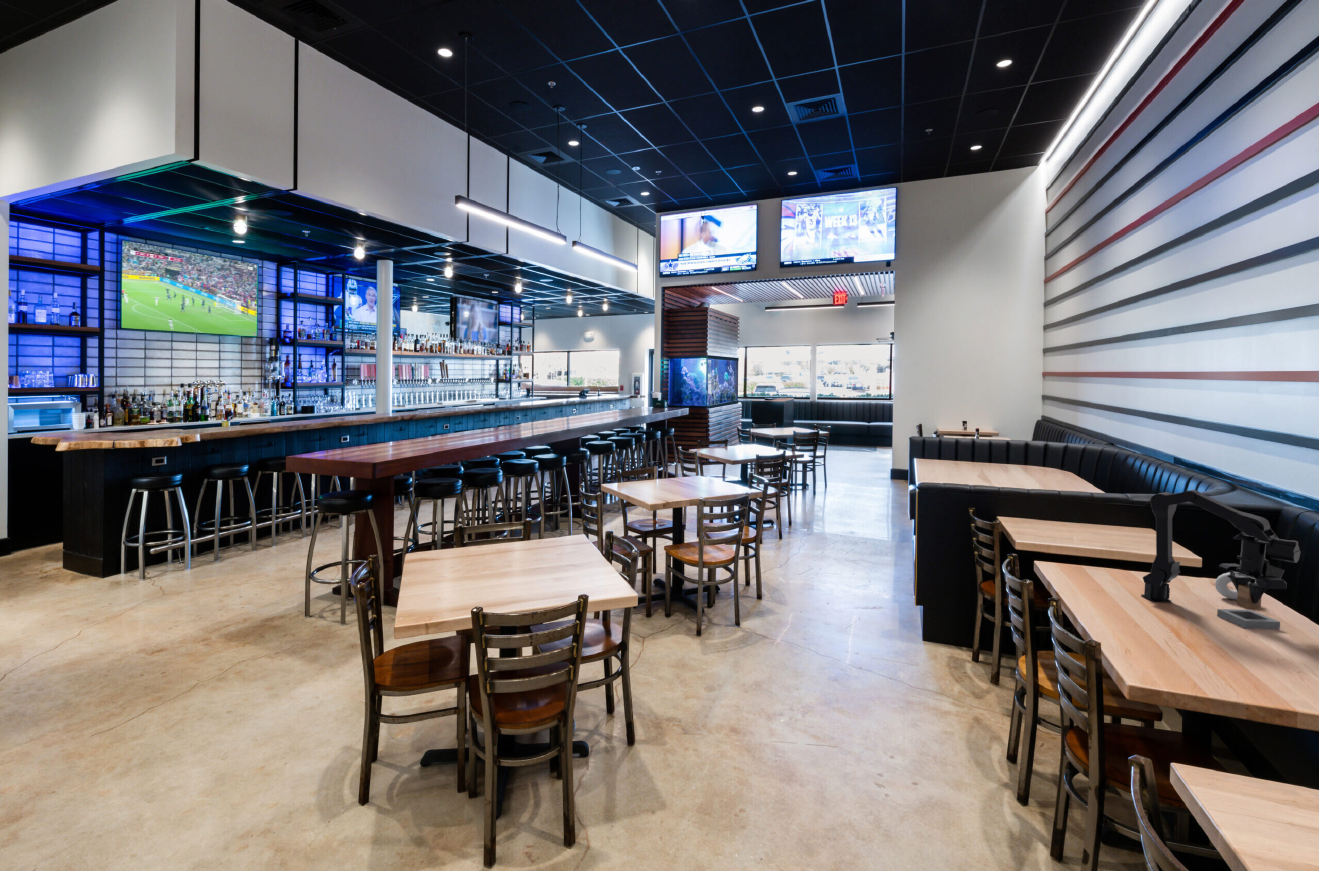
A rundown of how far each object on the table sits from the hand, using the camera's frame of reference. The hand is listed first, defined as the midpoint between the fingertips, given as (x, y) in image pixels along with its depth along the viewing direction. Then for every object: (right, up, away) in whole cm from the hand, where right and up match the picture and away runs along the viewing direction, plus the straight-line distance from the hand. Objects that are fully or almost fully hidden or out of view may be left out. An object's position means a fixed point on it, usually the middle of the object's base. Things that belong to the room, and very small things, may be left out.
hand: (1248, 600), depth 199 cm
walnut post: (0, -2, 0) cm, 2 cm away
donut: (+16, -6, +22) cm, 28 cm away
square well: (0, -7, +1) cm, 7 cm away
